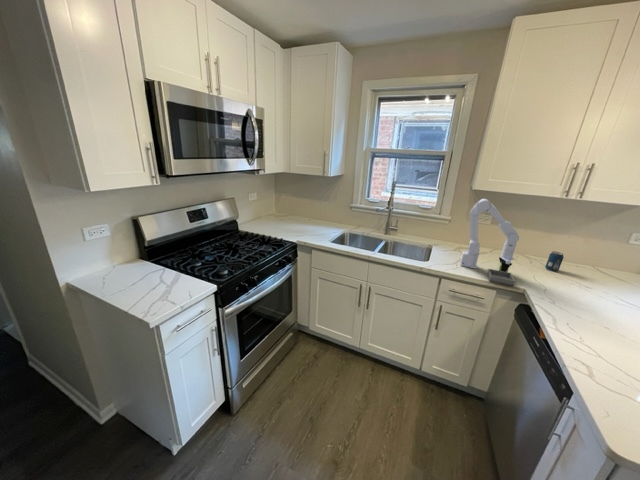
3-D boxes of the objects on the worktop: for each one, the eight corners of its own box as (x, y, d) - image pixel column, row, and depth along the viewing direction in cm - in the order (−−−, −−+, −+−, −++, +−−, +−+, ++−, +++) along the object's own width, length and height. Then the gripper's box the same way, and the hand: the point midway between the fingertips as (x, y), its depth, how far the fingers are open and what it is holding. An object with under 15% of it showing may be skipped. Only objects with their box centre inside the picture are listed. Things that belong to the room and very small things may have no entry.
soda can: (549, 267, 180) (555, 250, 176) (560, 271, 174) (567, 254, 170) (542, 268, 178) (548, 251, 174) (553, 272, 172) (560, 255, 168)
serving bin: (489, 281, 155) (490, 276, 154) (486, 273, 165) (488, 268, 164) (513, 286, 150) (515, 281, 149) (509, 278, 161) (510, 272, 159)
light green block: (497, 273, 166) (500, 264, 164) (496, 270, 170) (499, 262, 168) (506, 275, 164) (509, 266, 162) (505, 272, 168) (507, 263, 166)
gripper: (518, 255, 154) (512, 276, 159) (513, 248, 167) (507, 267, 171) (504, 253, 157) (498, 273, 162) (500, 246, 170) (494, 265, 174)
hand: (502, 270), depth 167 cm, fingers closed on light green block, 5 cm apart
